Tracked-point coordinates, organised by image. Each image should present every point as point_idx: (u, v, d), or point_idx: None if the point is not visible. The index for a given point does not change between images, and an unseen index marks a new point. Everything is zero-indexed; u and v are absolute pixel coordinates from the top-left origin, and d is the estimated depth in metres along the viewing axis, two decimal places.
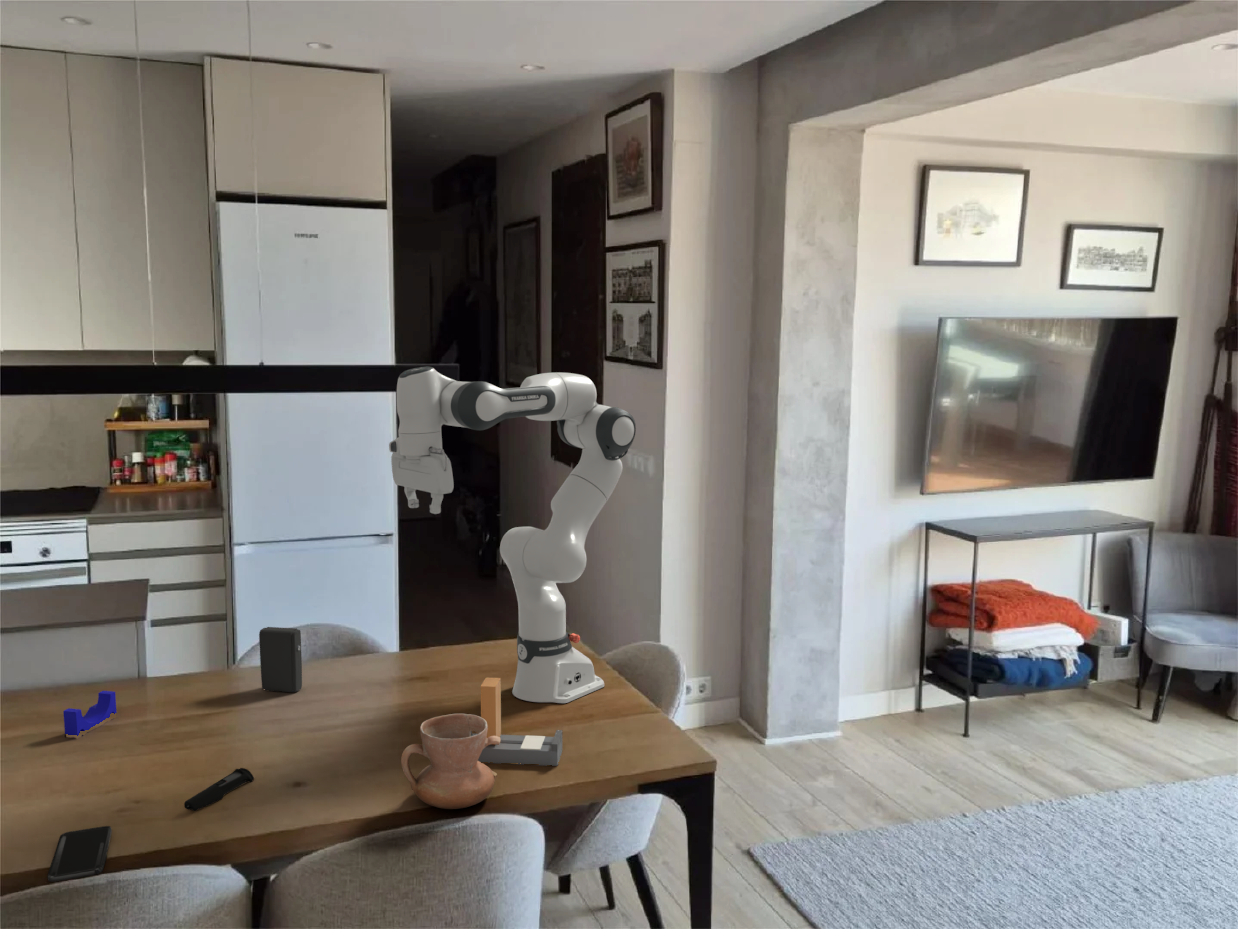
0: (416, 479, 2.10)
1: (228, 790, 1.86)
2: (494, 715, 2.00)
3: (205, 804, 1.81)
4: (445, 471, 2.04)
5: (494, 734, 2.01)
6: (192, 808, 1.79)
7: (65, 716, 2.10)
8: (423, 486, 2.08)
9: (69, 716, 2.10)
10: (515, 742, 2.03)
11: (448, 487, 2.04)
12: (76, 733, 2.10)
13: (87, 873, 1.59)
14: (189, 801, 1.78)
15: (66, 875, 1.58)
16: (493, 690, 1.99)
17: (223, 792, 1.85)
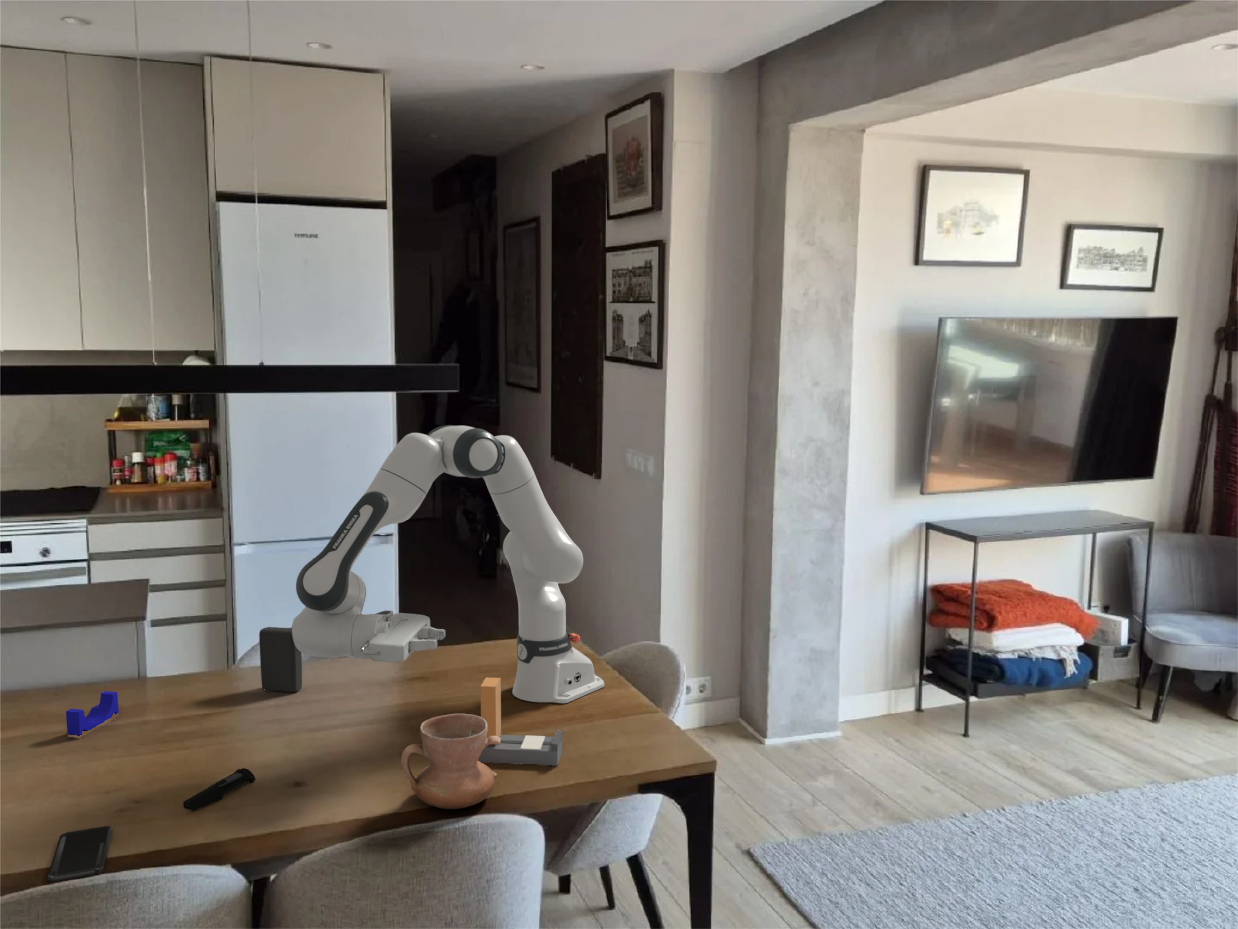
0: None
1: (228, 790, 1.86)
2: (494, 715, 2.00)
3: (204, 804, 1.81)
4: (380, 653, 1.93)
5: (494, 734, 2.01)
6: (191, 808, 1.79)
7: (68, 716, 2.10)
8: None
9: (72, 716, 2.10)
10: (515, 742, 2.03)
11: (396, 652, 1.92)
12: (79, 733, 2.10)
13: (87, 873, 1.59)
14: (188, 801, 1.78)
15: (66, 875, 1.58)
16: (493, 690, 1.99)
17: (223, 792, 1.85)
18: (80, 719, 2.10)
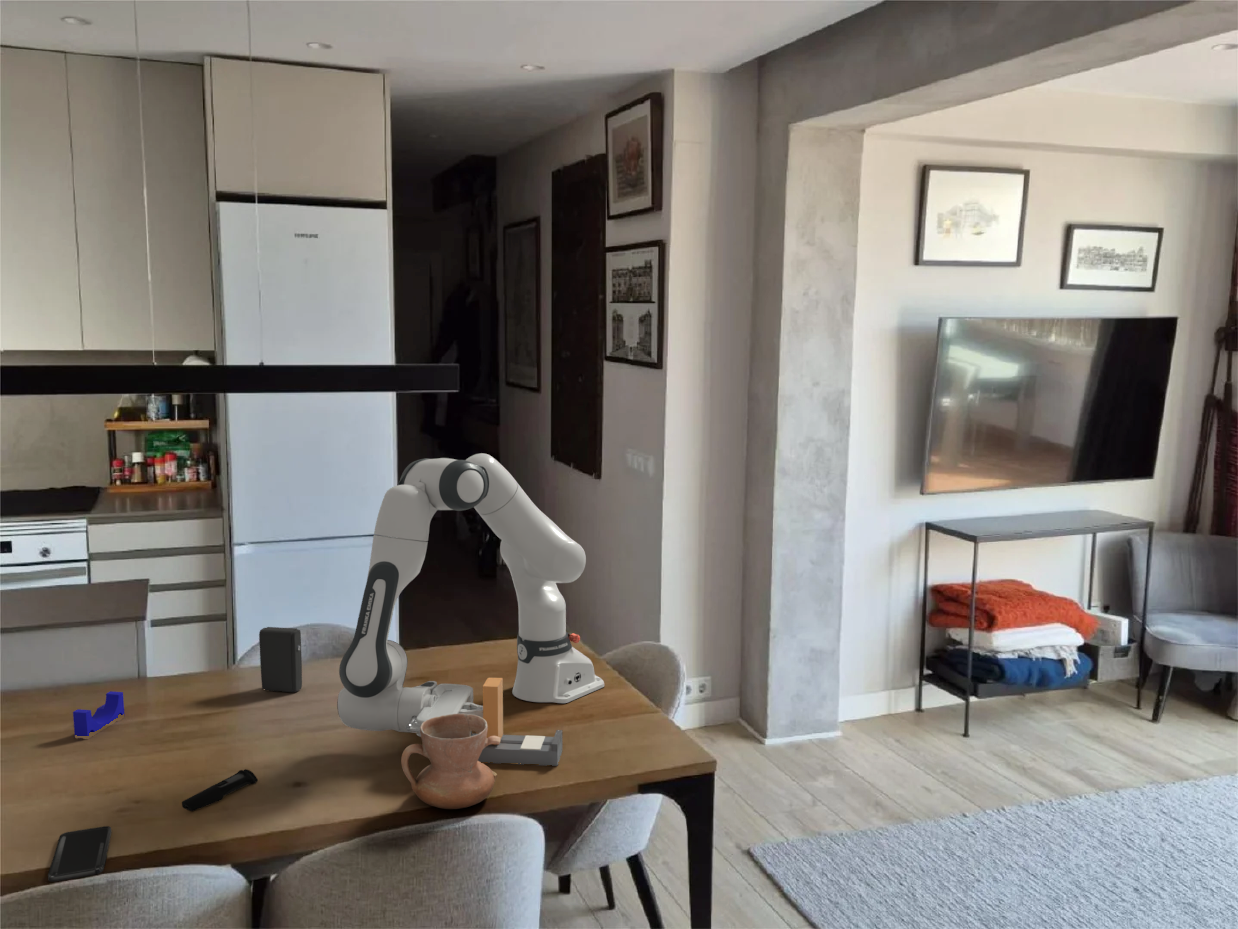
0: None
1: (229, 791, 1.86)
2: (496, 715, 2.00)
3: (203, 805, 1.80)
4: None
5: (496, 734, 2.01)
6: (189, 808, 1.79)
7: (75, 717, 2.10)
8: None
9: (79, 717, 2.10)
10: (515, 742, 2.03)
11: None
12: (86, 734, 2.10)
13: (87, 873, 1.59)
14: (186, 801, 1.78)
15: (66, 875, 1.58)
16: (495, 690, 1.99)
17: (223, 793, 1.84)
18: (87, 720, 2.10)
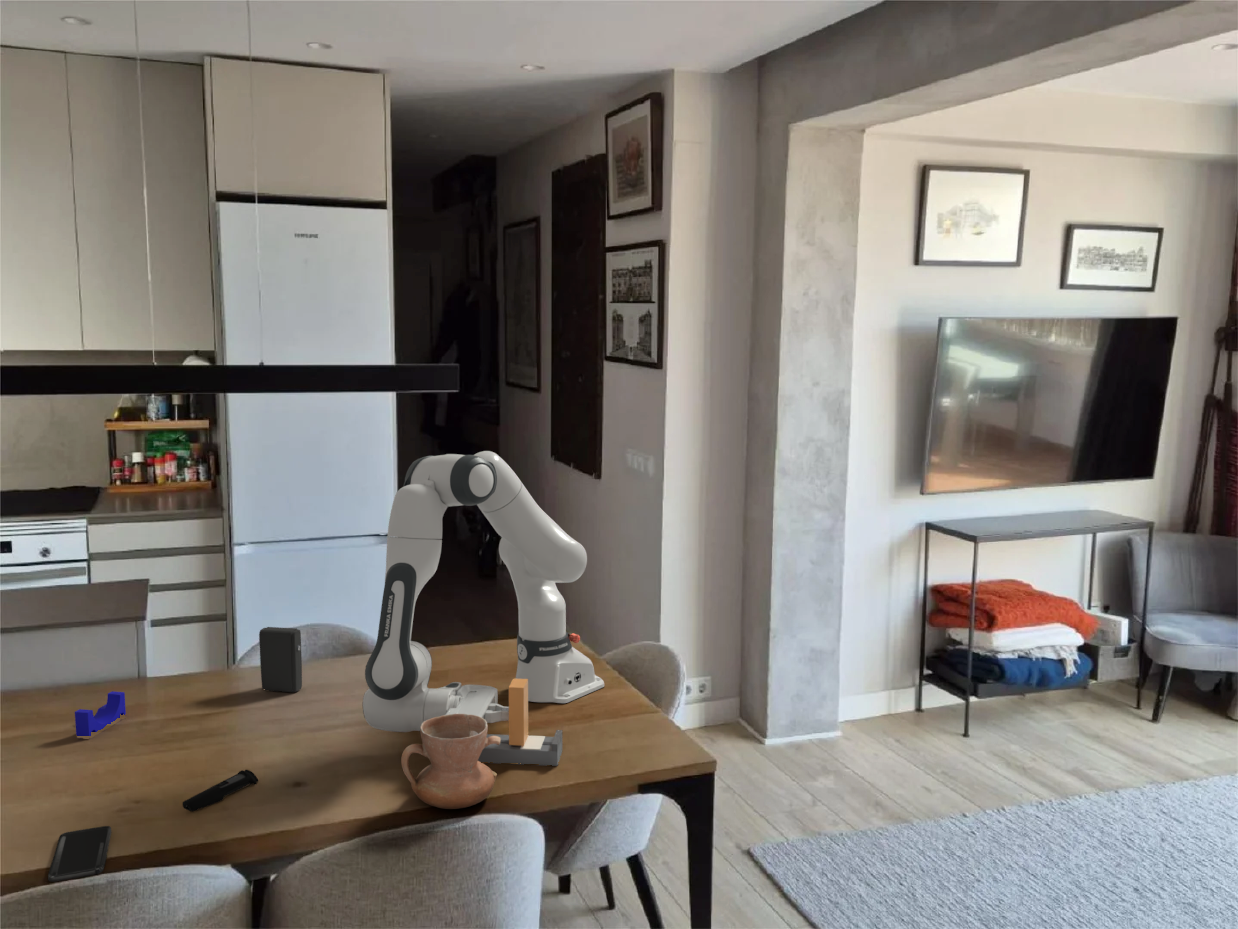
0: None
1: (230, 792, 1.86)
2: (522, 716, 2.00)
3: (204, 805, 1.80)
4: None
5: (522, 735, 2.00)
6: (190, 809, 1.78)
7: (76, 717, 2.10)
8: None
9: (81, 717, 2.10)
10: None
11: None
12: (88, 734, 2.10)
13: (87, 873, 1.59)
14: (187, 801, 1.78)
15: (66, 875, 1.58)
16: (521, 691, 1.99)
17: (224, 794, 1.84)
18: (89, 720, 2.10)
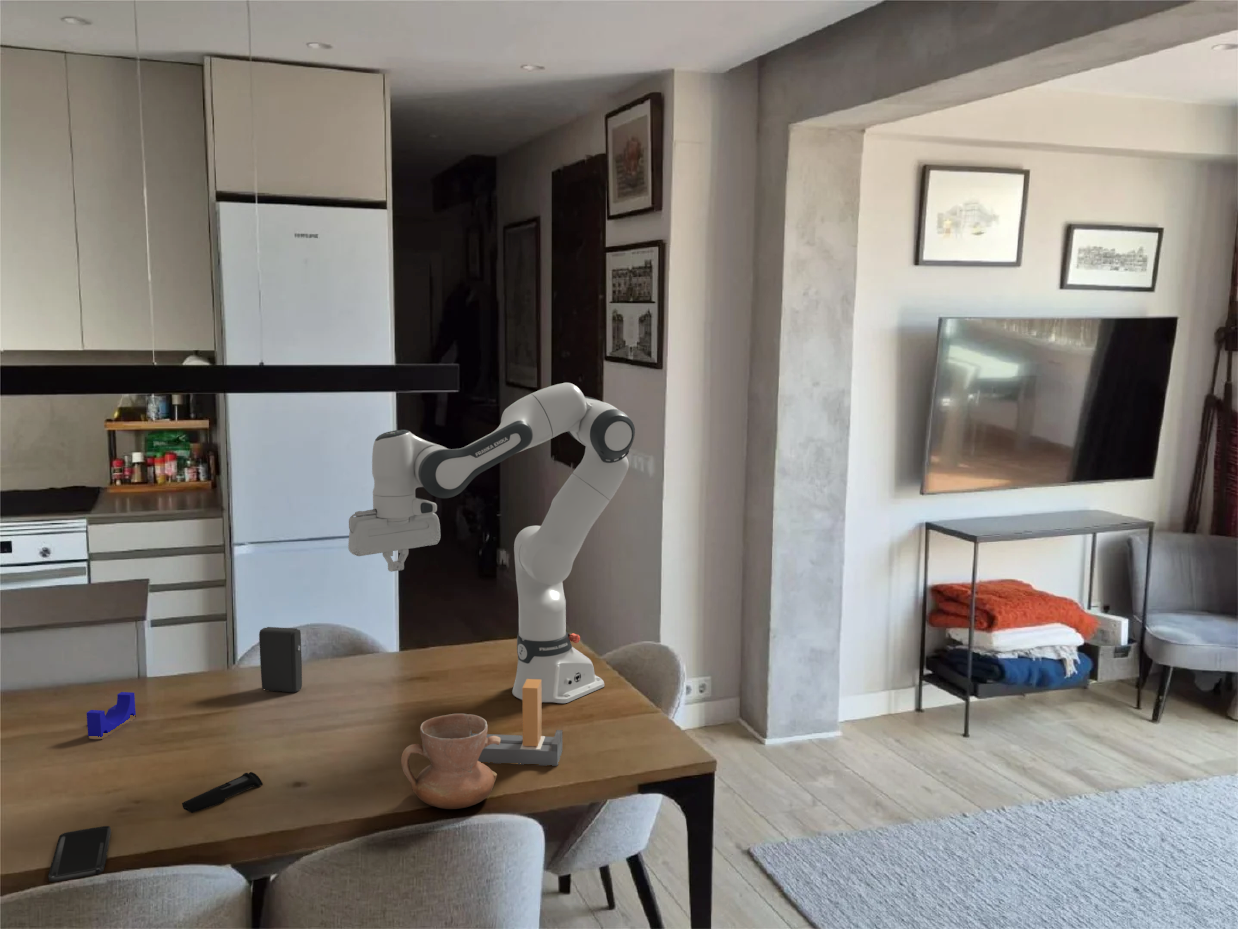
0: None
1: (231, 794, 1.85)
2: (536, 717, 1.99)
3: (203, 807, 1.80)
4: (352, 534, 2.08)
5: (536, 736, 2.00)
6: (189, 810, 1.78)
7: (88, 718, 2.10)
8: None
9: (93, 717, 2.09)
10: (515, 742, 2.03)
11: (352, 550, 2.08)
12: (100, 734, 2.10)
13: (88, 873, 1.59)
14: (186, 802, 1.78)
15: (67, 875, 1.58)
16: (535, 691, 1.99)
17: (225, 796, 1.83)
18: (101, 720, 2.10)
